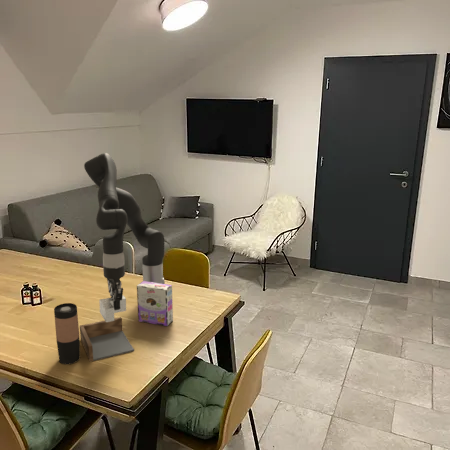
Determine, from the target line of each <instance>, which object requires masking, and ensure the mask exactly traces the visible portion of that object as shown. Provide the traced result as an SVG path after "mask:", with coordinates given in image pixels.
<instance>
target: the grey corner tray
mask: <svg viewBox="0 0 450 450" xmlns="http://www.w3.org/2000/svg"><path fill="white" fill-rule="evenodd" d="M89 340H90V342H91V344H92V348H93V361H92V362H95V361H99V360H102V359H107V358H110V357H115V356H119V355H123V354H127V353H131V352H134V351H135V349H134V347H133V345H132V343H130V340H129V339H128V338H127V336H126V335H125V332H124V331H123V330H122V331H119V332H114V333H110V334H105V335H100V336H96V337H91V338H89ZM86 353H87V352H86V351H85V354H86ZM86 356H87V357H88V355H87V354H86ZM88 360H90V359H89V358H88Z"/></svg>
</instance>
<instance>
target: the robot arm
mask: <svg viewBox="0 0 450 450" xmlns="http://www.w3.org/2000/svg"><path fill="white" fill-rule="evenodd" d="M83 167H84V170H85V173H87V176H88V177H89V178H90V179H91V180H92V182H93V183H94V185H96V186H97V187H98V191H97V202H98V210H97V215H96V218H95V222H96V223H95V224H96V226H97V228H99V229H100V230H101V231H103V230H104V231H107V230H115V231H114V232H113V233H110V234H107V235H105V236H104V237H103V238H102V252H103V254H102V267H103V276H104V278H105V279H106V280H107V282H106V283H107V287H108V293H109V295H110V298H112V297H113V301H114V310H119V309H120V300H122V296H123V294H124V288H123V287H122V284H123V283H122V281H121V280H120V279H122V278H124V276H125V275H126V269H125V266H126V265H125V262H126V261H125V254H124V253H125V252H124V235H125V231H126V228H127V227H129V229H130V230H131V232H132V233H133V235H134V237H135V239H136V240H137V242H138V244H139V245H140V246H141V247H143V248H145V249H147V254H145V255H143V257H142V258H141V262H142V265H141V266H142V281H147V282H154V283H161V284H166V283H165V278H164V275H163V274H164V273H163V272H164V271H163V270H164V267H163V266H164V265H163V263H164V262H163V260H164V255H165V236H164V234H163V232H161V231H160V230H157V229H154V228H152V227H150V226H149V225H148V224H147V223H146V221H145V220H144V219H143V215H142V209H141V207H140V204H139V203H138V202H137V200H136V199H135V197H134V196H133V195H132V193H130V192H128V191H127V190H124V189H122V188H119V187H117V176H118V175H117V165H116V163H115V161H114V159H113V156H111V155H110V154H109V153H108V152H103V153H101V154H99V155H96V156H94V157H93V158H91V159H88V160H87V161H86V162H85V163H84V164H83ZM126 226H127V227H126Z"/></svg>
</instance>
